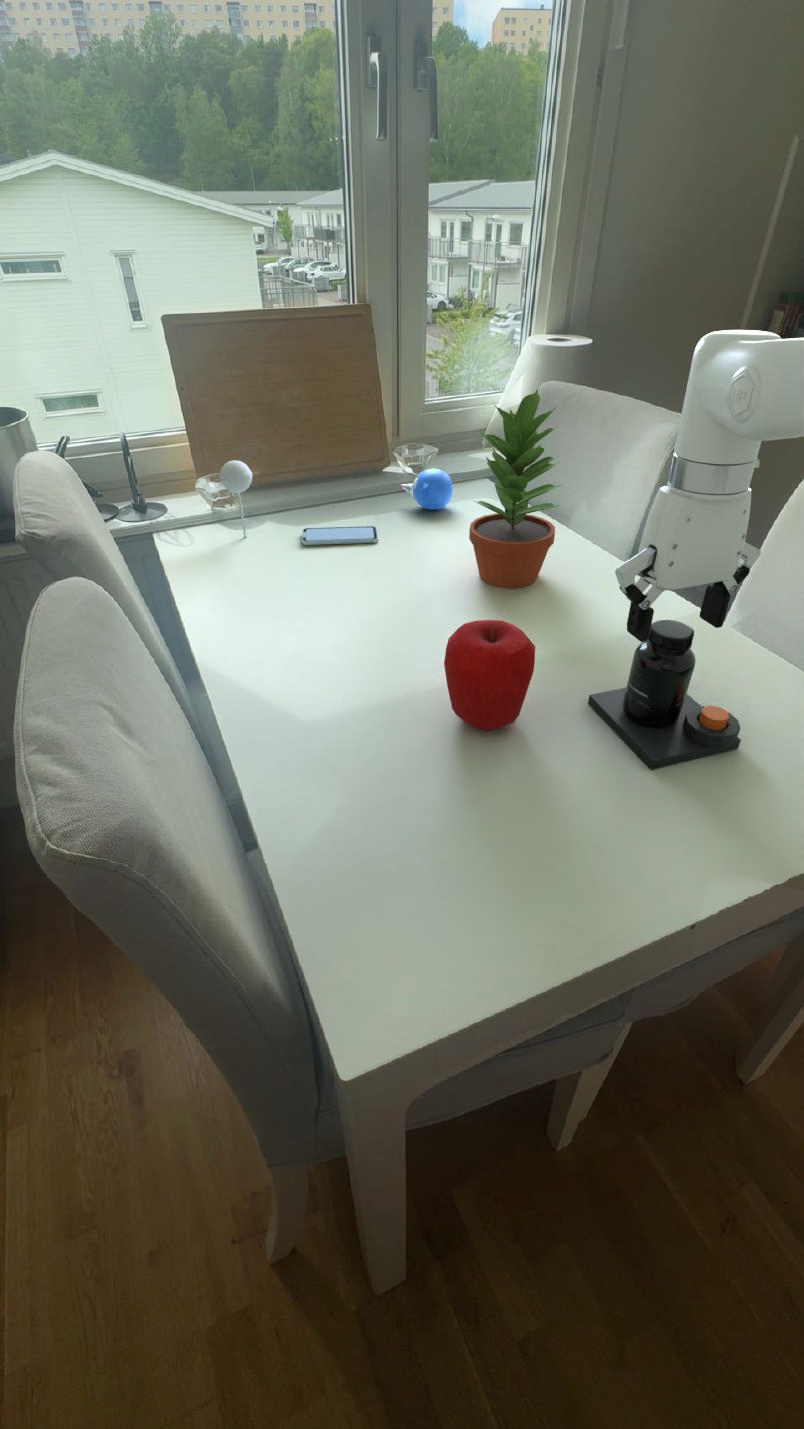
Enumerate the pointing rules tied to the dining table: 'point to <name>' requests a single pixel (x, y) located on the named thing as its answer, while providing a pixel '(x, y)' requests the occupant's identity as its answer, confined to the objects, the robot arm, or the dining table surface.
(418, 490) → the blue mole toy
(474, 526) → the potted plant
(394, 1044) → the dining table surface
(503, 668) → the apple
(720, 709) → the button
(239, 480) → the lollipop
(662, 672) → the supplement bottle
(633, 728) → the scale
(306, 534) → the smartphone
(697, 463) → the robot arm
